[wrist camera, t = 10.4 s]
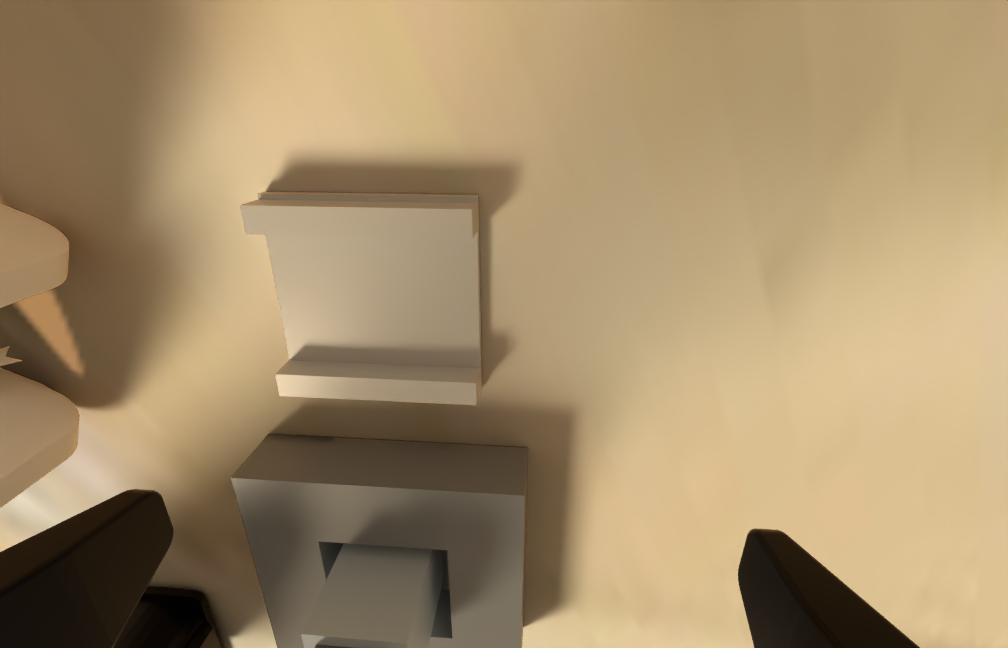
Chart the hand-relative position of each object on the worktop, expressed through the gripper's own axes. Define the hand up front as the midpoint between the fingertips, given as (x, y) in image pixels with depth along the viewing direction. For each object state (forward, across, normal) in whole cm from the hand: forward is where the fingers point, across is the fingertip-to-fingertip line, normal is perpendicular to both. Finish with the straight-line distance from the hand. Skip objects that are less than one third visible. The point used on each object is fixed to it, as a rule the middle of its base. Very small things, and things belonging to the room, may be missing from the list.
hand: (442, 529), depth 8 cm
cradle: (+12, +5, +1) cm, 14 cm away
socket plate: (+12, +5, +14) cm, 19 cm away
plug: (+12, +5, +14) cm, 19 cm away
